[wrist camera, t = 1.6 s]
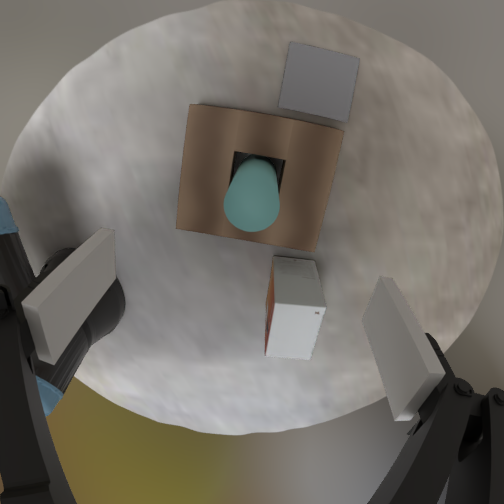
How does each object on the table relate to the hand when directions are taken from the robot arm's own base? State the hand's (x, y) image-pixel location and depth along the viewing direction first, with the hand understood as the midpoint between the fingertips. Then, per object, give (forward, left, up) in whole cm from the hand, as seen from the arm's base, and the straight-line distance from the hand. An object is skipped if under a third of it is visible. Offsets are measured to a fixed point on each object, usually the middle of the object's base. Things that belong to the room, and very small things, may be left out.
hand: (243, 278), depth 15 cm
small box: (+7, -14, -24) cm, 29 cm away
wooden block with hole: (0, 0, -24) cm, 24 cm away
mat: (+5, +12, -24) cm, 27 cm away
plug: (0, 0, -24) cm, 24 cm away
